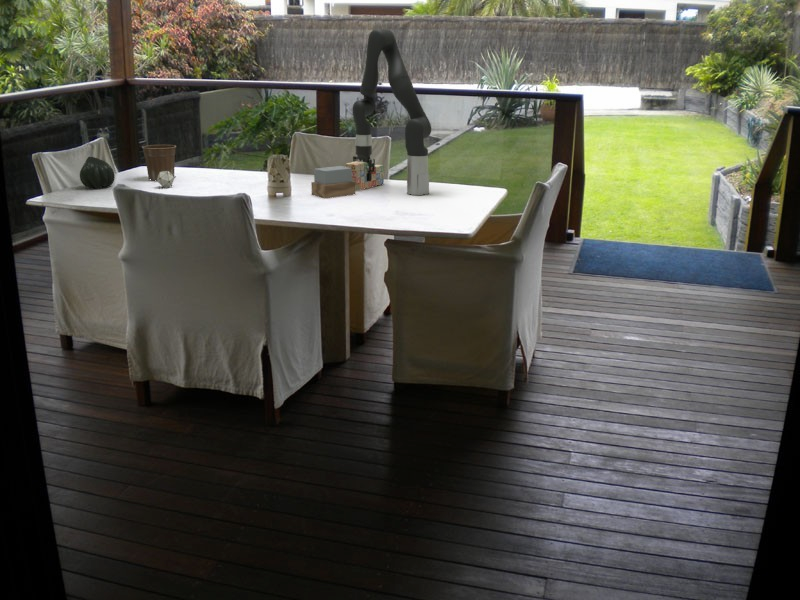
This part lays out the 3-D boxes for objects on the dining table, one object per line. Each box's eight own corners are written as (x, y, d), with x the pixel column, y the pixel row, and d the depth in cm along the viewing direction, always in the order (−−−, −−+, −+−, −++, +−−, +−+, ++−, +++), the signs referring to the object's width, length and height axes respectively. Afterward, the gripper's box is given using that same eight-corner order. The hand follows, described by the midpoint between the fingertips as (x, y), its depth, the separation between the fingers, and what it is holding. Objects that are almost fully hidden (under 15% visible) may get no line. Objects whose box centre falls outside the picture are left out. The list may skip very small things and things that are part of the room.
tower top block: (352, 181, 378) (351, 168, 376) (325, 185, 370) (324, 171, 368) (341, 179, 385) (340, 165, 383) (314, 182, 377) (314, 168, 375)
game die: (162, 195, 395) (147, 178, 392) (172, 186, 402) (158, 169, 398) (173, 188, 390) (158, 170, 387) (183, 178, 396) (168, 161, 393)
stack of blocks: (373, 183, 408) (373, 157, 405) (383, 184, 405) (383, 158, 401) (345, 189, 392) (345, 162, 388) (356, 191, 388) (356, 164, 385)
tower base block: (355, 195, 380) (355, 181, 378) (325, 199, 370) (325, 185, 369) (341, 191, 388) (341, 178, 386) (311, 195, 379) (311, 182, 377)
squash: (123, 176, 392) (108, 149, 395) (94, 181, 381) (78, 154, 384) (113, 193, 402) (98, 167, 404) (84, 199, 391) (69, 172, 393)
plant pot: (152, 176, 426) (150, 143, 421) (183, 177, 424) (181, 144, 419) (139, 181, 411) (136, 147, 406) (170, 182, 408) (168, 148, 404)
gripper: (379, 145, 389) (379, 181, 394) (360, 142, 399) (361, 177, 404) (366, 146, 384) (366, 182, 389) (347, 143, 395) (348, 178, 400)
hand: (363, 179), depth 397 cm, fingers closed on stack of blocks, 7 cm apart
